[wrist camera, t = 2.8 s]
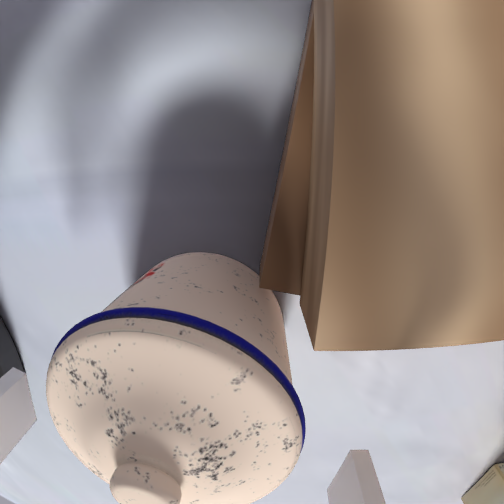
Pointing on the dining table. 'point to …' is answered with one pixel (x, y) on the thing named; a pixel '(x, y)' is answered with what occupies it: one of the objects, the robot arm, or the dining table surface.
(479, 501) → the skincare box
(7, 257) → the dining table surface
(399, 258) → the tower top block
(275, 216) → the tower base block
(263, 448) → the teacup with lid
